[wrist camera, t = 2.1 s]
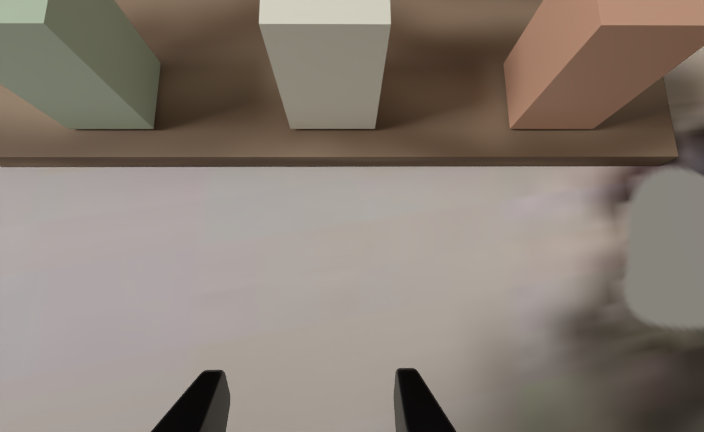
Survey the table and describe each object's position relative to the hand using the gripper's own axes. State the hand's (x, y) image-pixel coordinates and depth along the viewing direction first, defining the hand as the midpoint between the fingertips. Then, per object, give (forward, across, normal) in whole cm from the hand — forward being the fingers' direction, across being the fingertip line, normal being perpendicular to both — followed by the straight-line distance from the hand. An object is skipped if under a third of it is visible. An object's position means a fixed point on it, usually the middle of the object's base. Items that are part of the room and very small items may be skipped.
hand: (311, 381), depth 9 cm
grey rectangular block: (+18, 0, -1) cm, 18 cm away
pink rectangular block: (+18, -12, -1) cm, 21 cm away
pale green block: (+18, +12, -1) cm, 21 cm away
